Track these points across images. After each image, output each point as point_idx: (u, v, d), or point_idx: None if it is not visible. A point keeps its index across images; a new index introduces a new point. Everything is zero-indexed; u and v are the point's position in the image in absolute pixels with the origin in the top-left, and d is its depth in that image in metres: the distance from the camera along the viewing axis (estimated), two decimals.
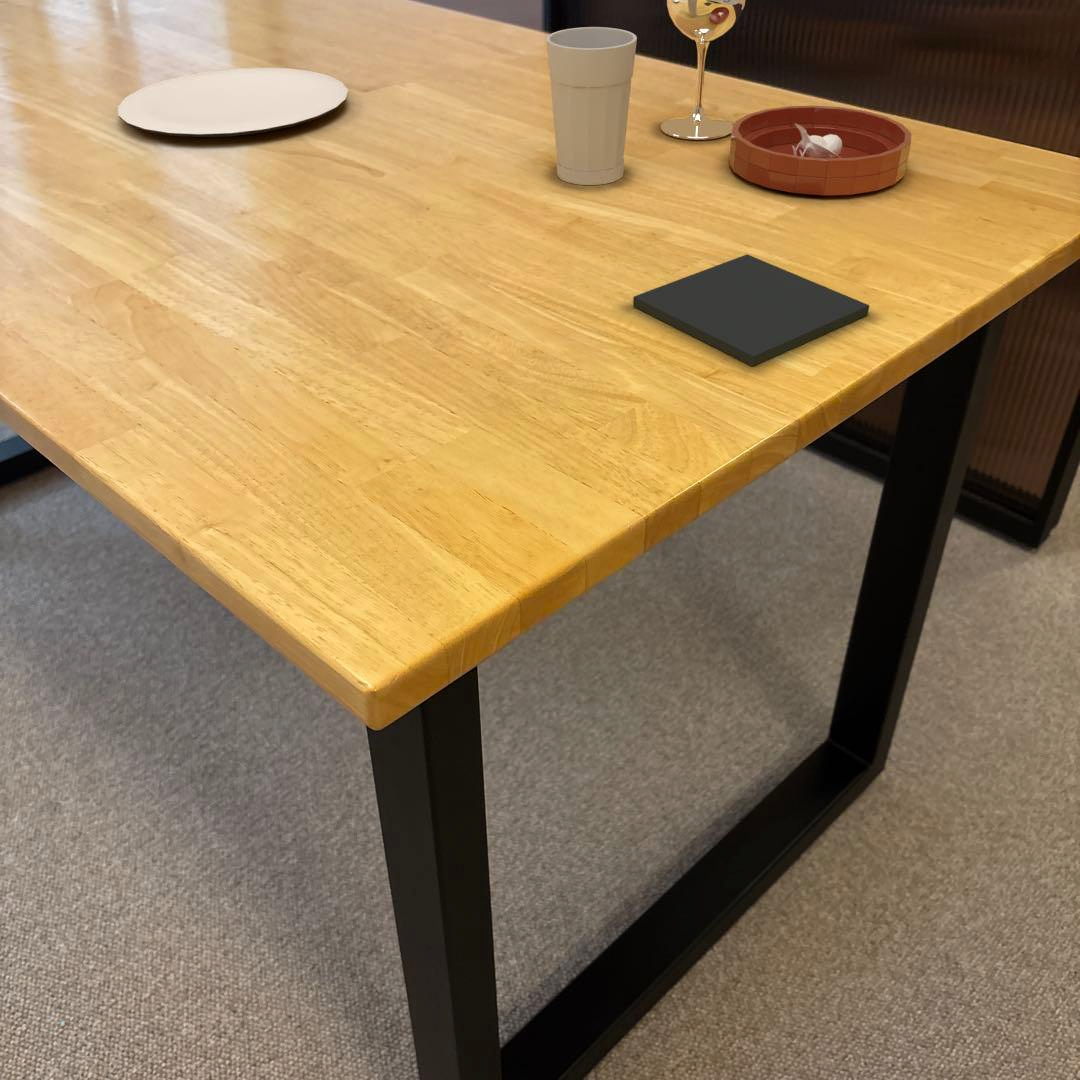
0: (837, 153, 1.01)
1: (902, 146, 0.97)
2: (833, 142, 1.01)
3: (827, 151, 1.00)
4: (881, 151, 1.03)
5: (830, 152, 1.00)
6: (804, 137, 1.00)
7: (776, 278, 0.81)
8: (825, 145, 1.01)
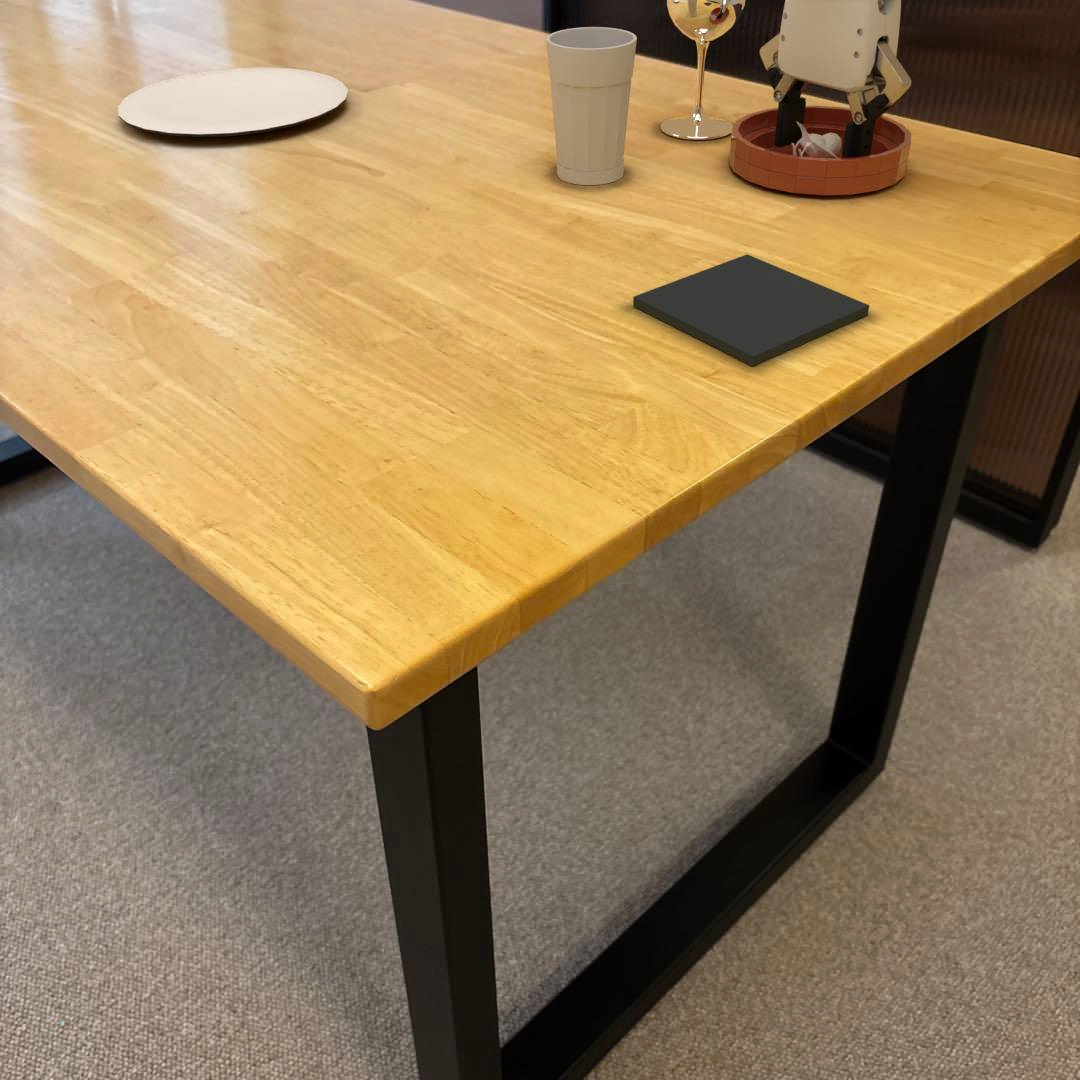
0: (836, 153, 1.01)
1: (902, 146, 0.97)
2: (833, 142, 1.01)
3: (826, 151, 1.00)
4: (881, 151, 1.03)
5: (829, 153, 1.00)
6: (804, 135, 1.00)
7: (776, 278, 0.81)
8: (825, 144, 1.01)
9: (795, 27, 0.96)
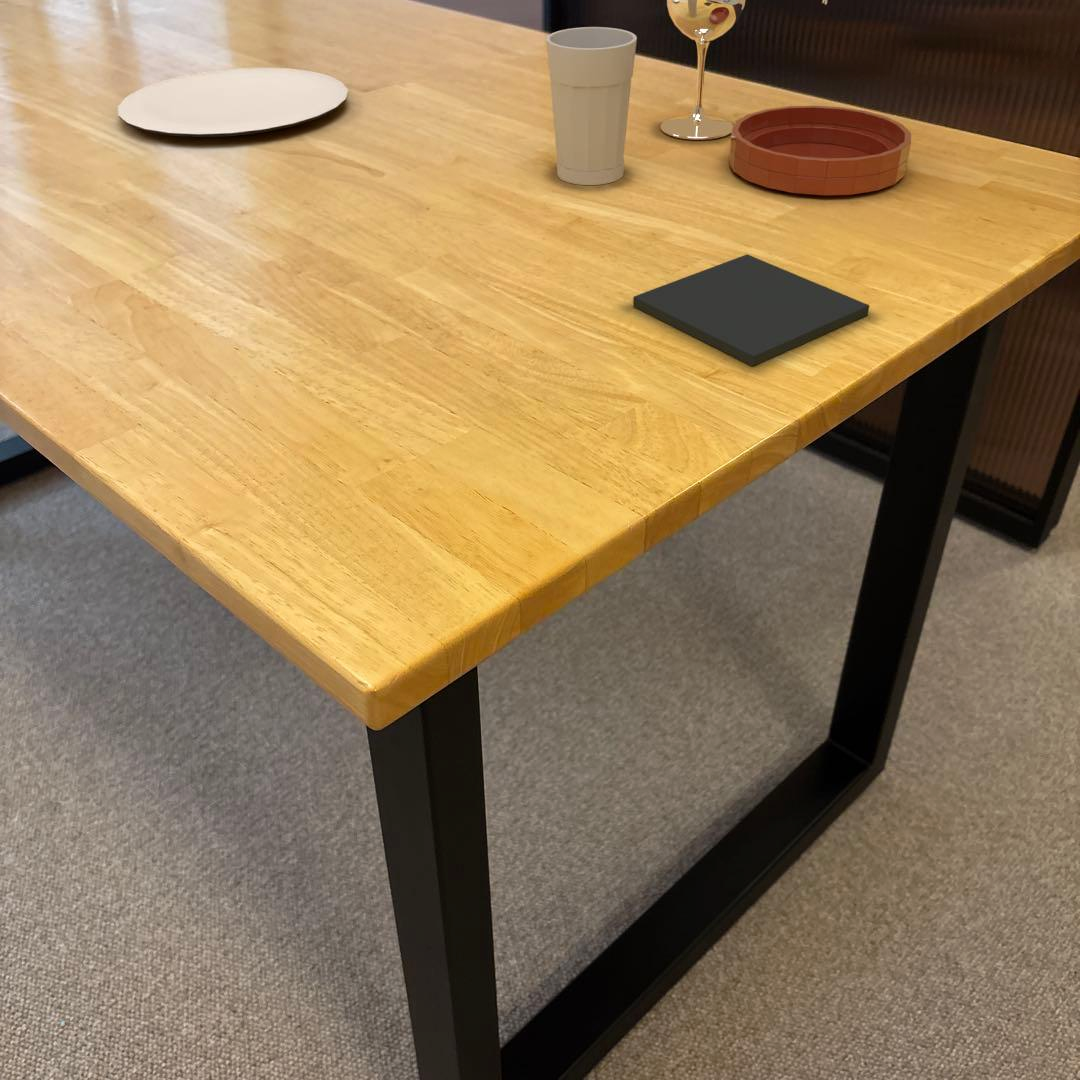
0: None
1: (902, 146, 0.97)
2: None
3: None
4: (881, 151, 1.03)
5: None
6: None
7: (776, 278, 0.81)
8: None
9: None
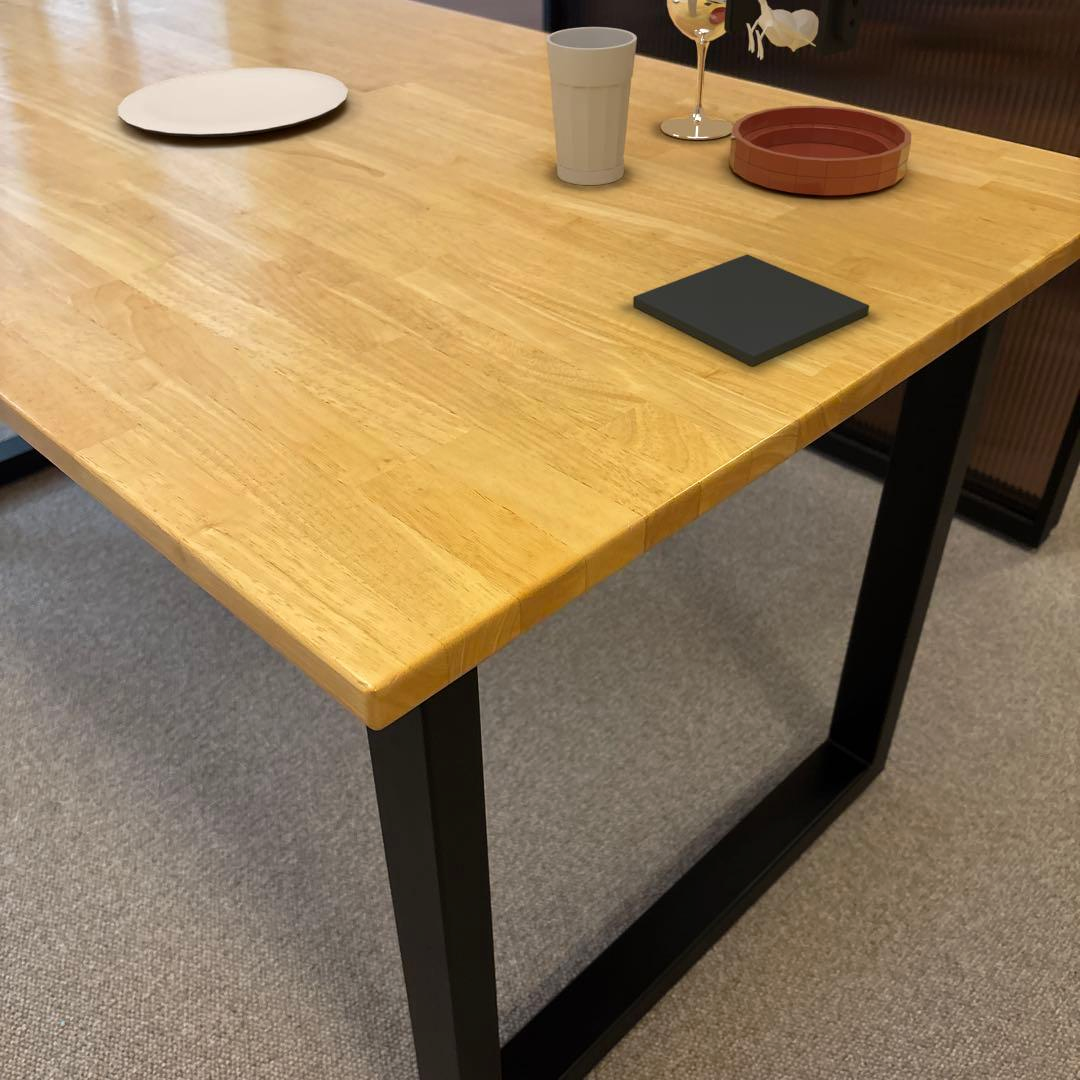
0: (811, 38, 0.71)
1: (902, 146, 0.97)
2: (806, 21, 0.70)
3: (796, 34, 0.70)
4: (881, 151, 1.03)
5: (800, 36, 0.69)
6: (764, 11, 0.70)
7: (776, 278, 0.81)
8: (794, 25, 0.70)
9: None
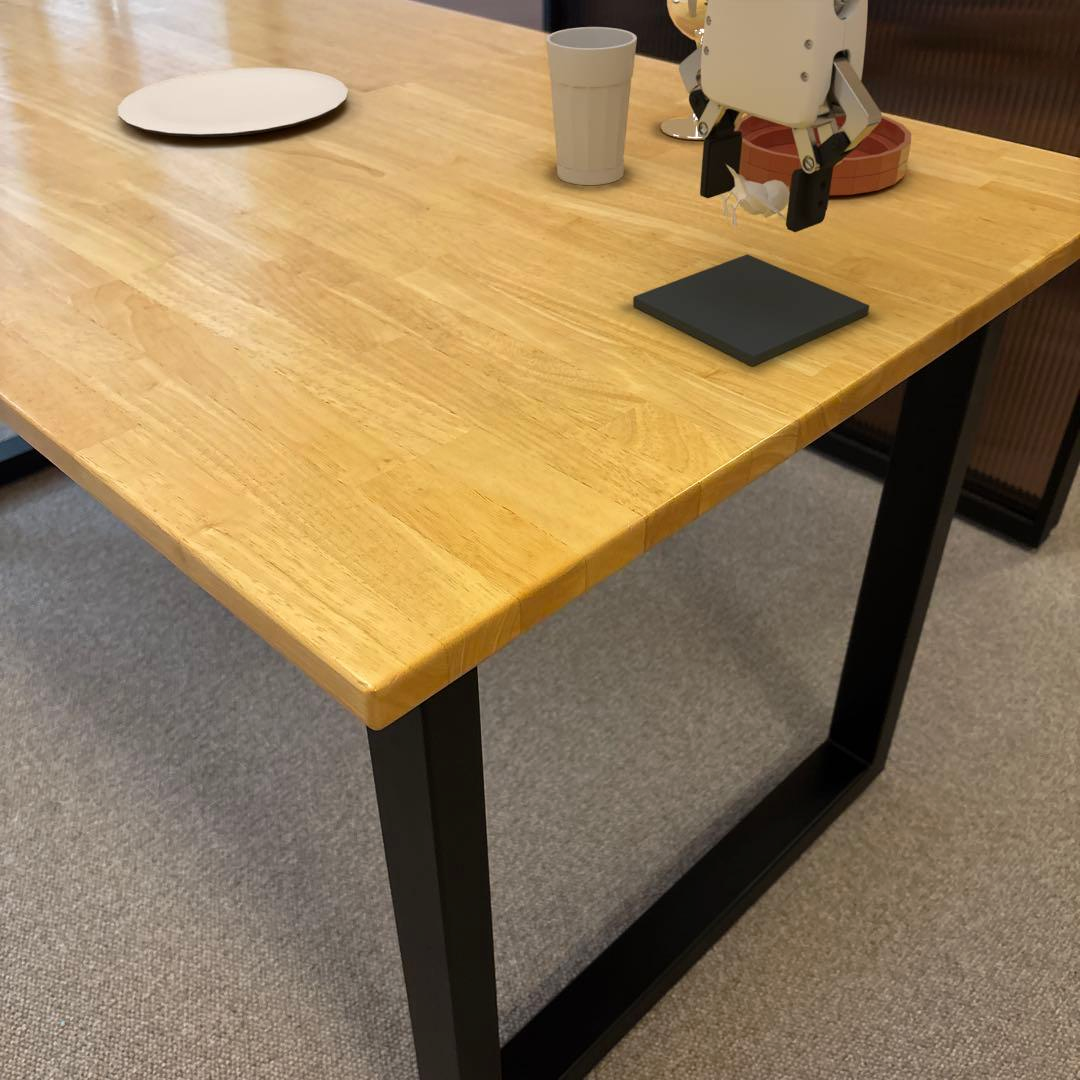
0: (782, 207, 0.74)
1: (902, 146, 0.97)
2: (777, 193, 0.73)
3: (767, 206, 0.73)
4: (881, 151, 1.03)
5: (771, 208, 0.73)
6: (737, 184, 0.73)
7: (776, 278, 0.81)
8: (766, 197, 0.73)
9: (721, 36, 0.68)
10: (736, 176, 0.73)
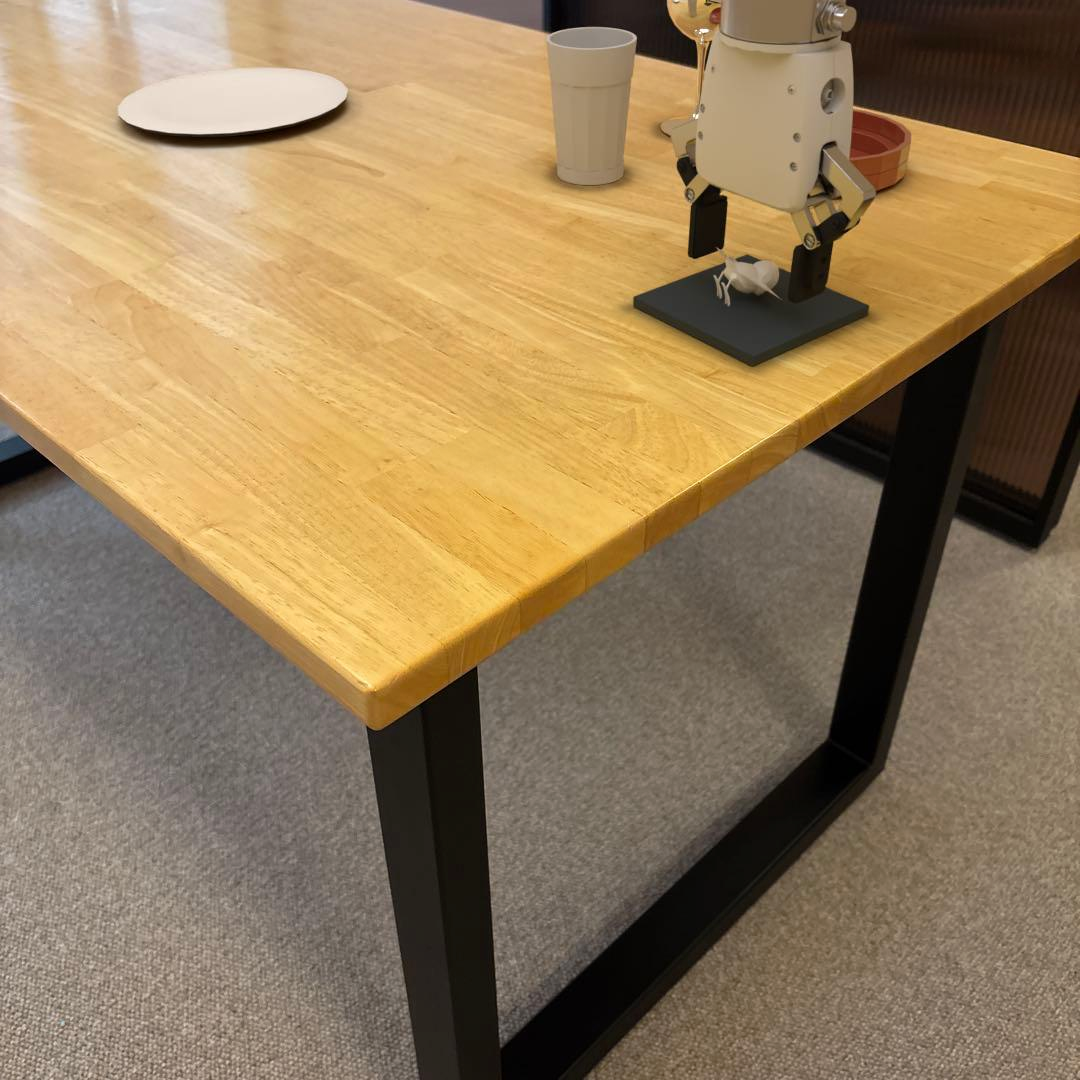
0: (772, 285, 0.78)
1: (902, 146, 0.97)
2: (766, 272, 0.77)
3: (758, 284, 0.77)
4: (881, 151, 1.03)
5: (761, 286, 0.76)
6: (728, 265, 0.77)
7: None
8: (756, 276, 0.77)
9: (715, 124, 0.72)
10: (726, 258, 0.77)
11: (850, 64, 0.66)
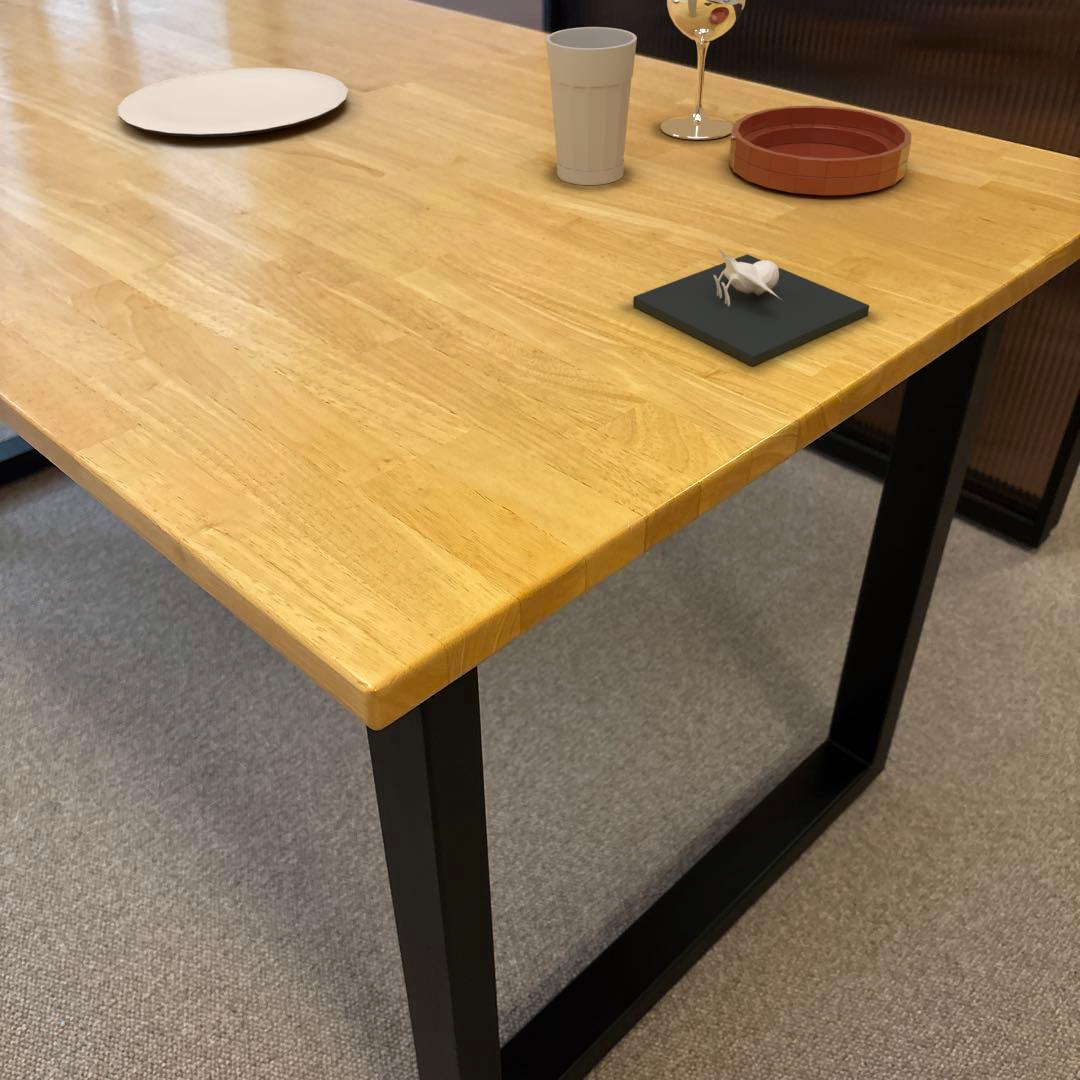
0: (772, 285, 0.78)
1: (902, 146, 0.97)
2: (766, 272, 0.77)
3: (758, 284, 0.77)
4: (881, 151, 1.03)
5: None
6: (728, 265, 0.77)
7: None
8: (756, 276, 0.77)
9: None
10: (726, 258, 0.77)
11: None
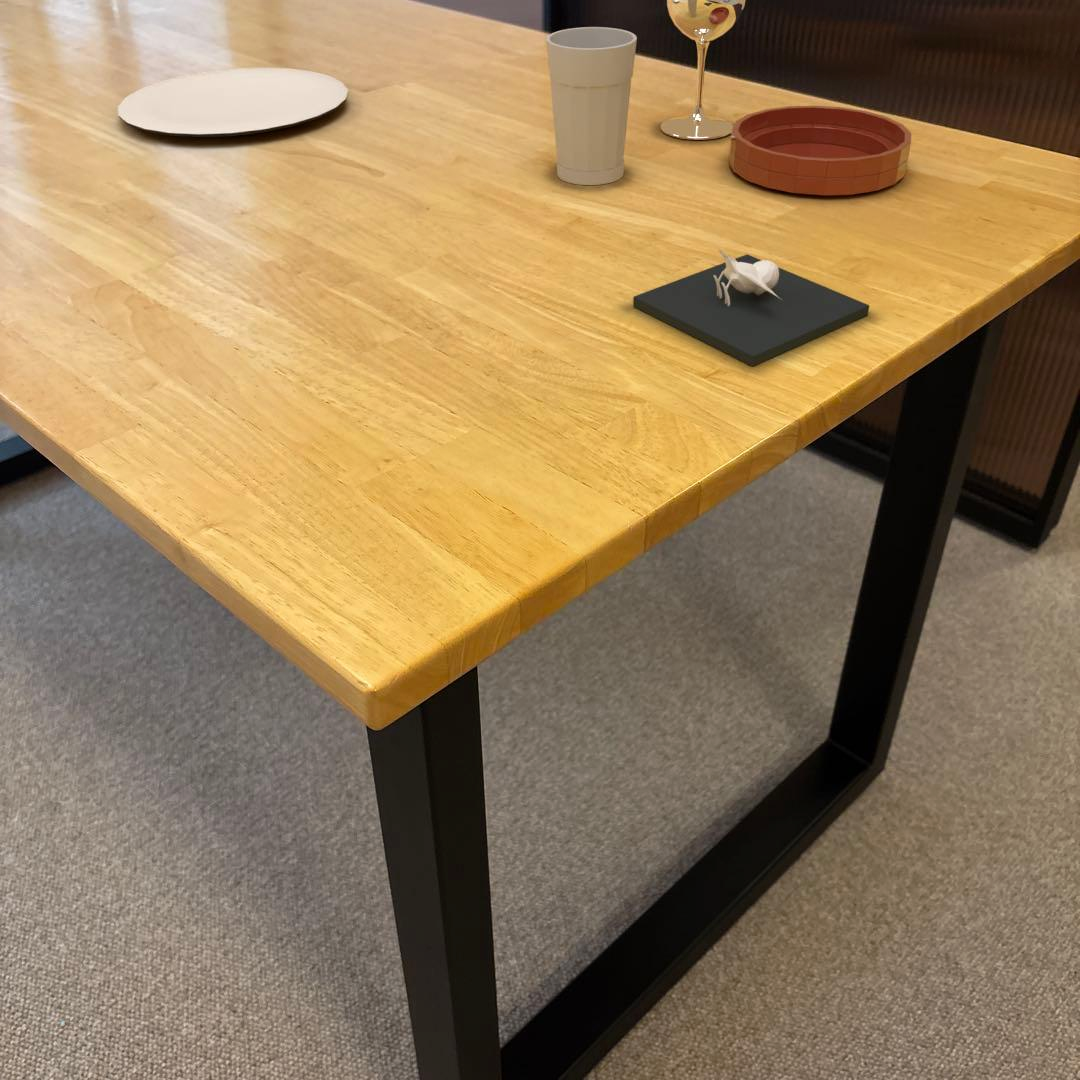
0: (772, 285, 0.78)
1: (902, 146, 0.97)
2: (766, 272, 0.77)
3: (758, 284, 0.77)
4: (881, 151, 1.03)
5: None
6: (728, 265, 0.77)
7: None
8: (756, 276, 0.77)
9: None
10: (726, 258, 0.77)
11: None
